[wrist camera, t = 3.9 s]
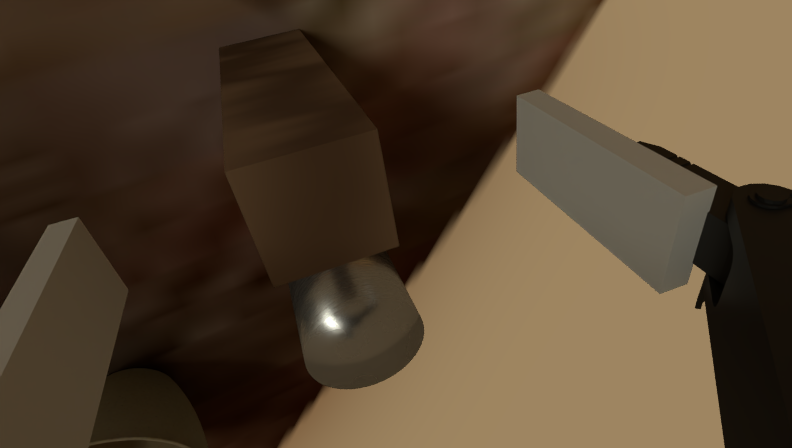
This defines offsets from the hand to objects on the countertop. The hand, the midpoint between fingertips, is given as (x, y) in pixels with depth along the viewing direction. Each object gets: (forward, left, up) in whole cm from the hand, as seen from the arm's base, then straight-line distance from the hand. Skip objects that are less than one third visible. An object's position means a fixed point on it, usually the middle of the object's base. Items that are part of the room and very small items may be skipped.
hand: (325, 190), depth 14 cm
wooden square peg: (0, 0, -13) cm, 13 cm away
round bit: (-7, -8, -13) cm, 17 cm away
